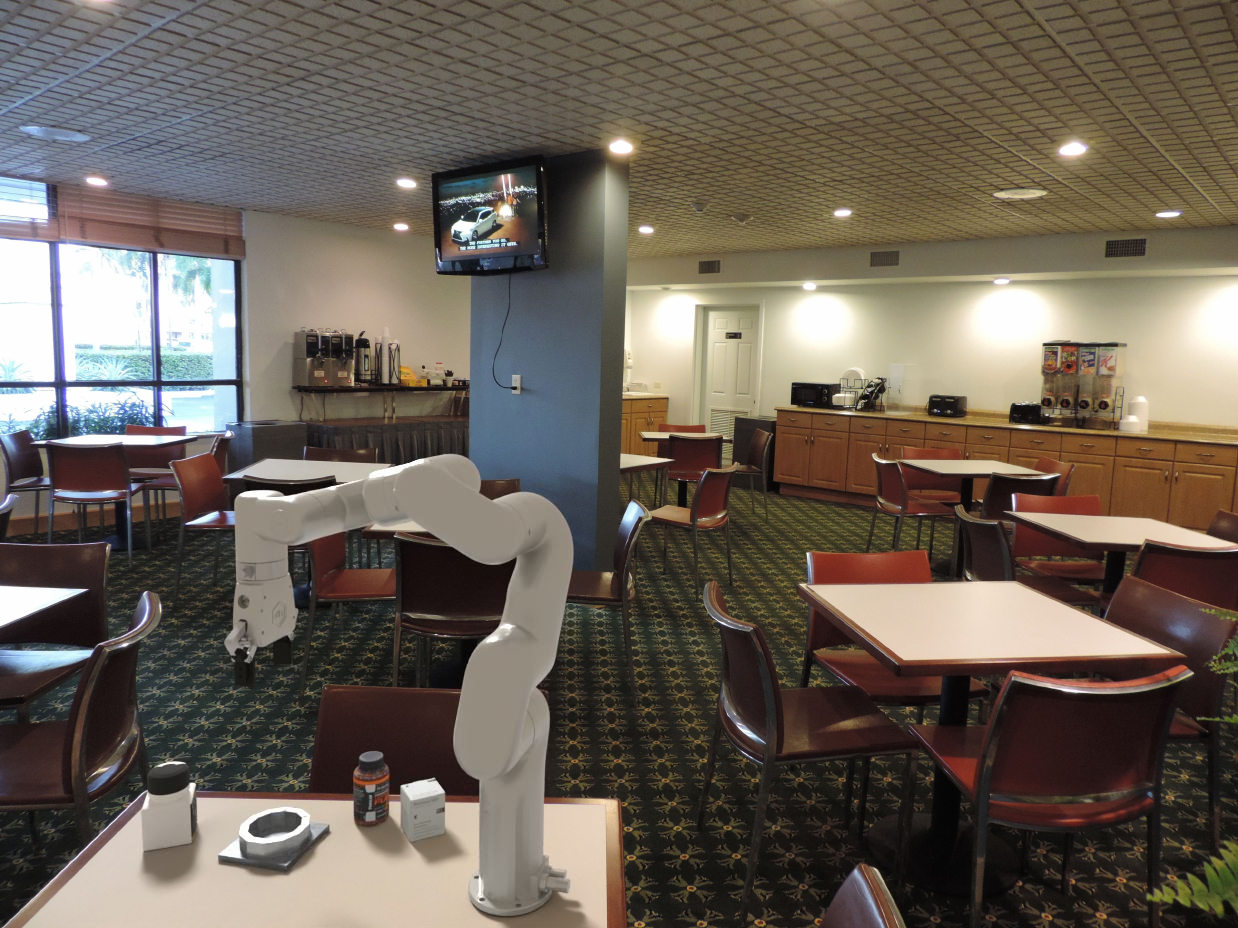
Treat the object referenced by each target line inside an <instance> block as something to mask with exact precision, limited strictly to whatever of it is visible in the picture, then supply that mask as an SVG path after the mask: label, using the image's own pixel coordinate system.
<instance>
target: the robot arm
mask: <svg viewBox="0 0 1238 928" xmlns="http://www.w3.org/2000/svg"><path fill="white" fill-rule="evenodd" d="M481 484H482V480H481V475H480V472H479V470H478V468H477V466H476V465H475V463H474V462H473V461H472V460H470V459H469V458H468V457H465V456H464V455H460V454H456V453H448V454H446V453H444V454H440V455H435V456H430V457H425V458H419V459H417V460H414V461H412V462H409V463H405V464H400V465H396V466H391V467H388V468H384V469H379V470H376V471H372V472H370V473H369V474H368V475H367V476H366V478H363V479H358V480H355V481H350V482H346V483H343V484H338V485H333V486H329V487H325V488H320V489H315V490H314V489H313V490H308V491H306V492H301V493H297V494H291V495H284V493H282V492H280V491H277V490H268V489H267V490H265V489H263V490H260V489H259V490H250V491H248V490H247V491H244V492H242V493H240V494H238V495H237V496H236V497H235V499H234V533H235V535H234V539H235V540H234V542H235V572H236V574H235V575H236V577H235V578H236V584H235V589H234V596H233V597H234V598H233V612H232V616H233V617H232V624H233V625H232V630H231V631H230V632H229V634H227V636H226V638H225V639H224V642H223V644H224V646H225V648H226V650H227V654H228V656H229V657H230V658H231V659H230V660H231V661H232V662H234V663H233V665H234V667H233V669H234V684H235V686H238V687H247V688H248V687H249V688H253V687H255V686H256V679H257V677H256V660H253V658H254V656H255V653H256V651H257V648H258V647H259V648H264V647H266V646H269V645H271V644H272V660H273V661H272V662H273V663H274V665H275V664H276V665H283V666H284V665H285V666H290V665H292V664H293V640H294V639H295V634H294V631H295V629H296V626H297V622H296V621H297V618H298V614H299V609H298V608H297V607H296V605H295V596H294V589H293V583H292V582H293V581H292V577H291V575H290V572H289V555H288V554H289V553H288V552H289V550H288V547H289V546H298V545H302V544H305V543H309V542H312V541H314V540H317V539H321V538H324V537H328V536H332V535H335V534H338V533H342V532H345V531H350V530H355V529H359V528H364V527H369V526H372V525H378V527H379V526H380V527H382V528H389V527H394V526H397V525H401V524H406V523H411V522H414V524H415V523H416V524H417V525H418V526H419V527H421V529H424V530H425V531H426V532H429V533H430V534H431V535H433V536H434V537H436V538H438V539H440V540H441V541H443V542H444V543H445V544H447V545H449V546H451V547H452V548H454V549H455V550H457V551H458V552H460V553H461V554H463V555H465V556H466V557H468V558H470V559H471V560H473V561H475V562H478V563H481V564H485V565H491V566H492V565H493V566H494V565H502V564H505V563H508V562H510V561H511V560H514V559H515V558H516V563H515V566H514V569H513V572H512V575H511V578H510V581H509V583H508V587H507V590H506V591H507V592H506V599H505V604H504V608H503V613H502V615H501V620H500V622H499V625H498V627H497V628H496V629H495V630H494V631H493V632H492V633H491V634H490V635H488V636H486V637H485V638H483V640H482V641H481V642H480V643H479V644H477V646H476V647H475V649H474V650H473V652H472V653H471V656H470V657H469V659H468V663H467V664H466V668H465V671H464V676H463V680H462V686H461V693H460V696H459V697H460V698H459V703H458V708H457V711H456V712H457V713H456V717H455V718H456V719H455V722H454V728H453V738H452V739H453V741H452V743H453V744H452V745H453V751H454V755H455V758H456V761H457V763H458V764H459V766H460V767H461V769H462V771H464V772H465V773H466V774H467V775H468V776H470V777H472V778H474V779H476V780H479V794H478V795H479V796H478V797H479V801H478V802H479V804H478V805H479V811H478V814H479V817H478V818H479V821H478V822H479V824H478V825H479V826H478V827H479V828H478V830H479V833H478V835H479V836H478V837H479V841H478V847H479V848H478V849H479V850H478V851H479V852H478V870H476V872H475V873H474V874H473V875H472V876H471V878H470V880H469V883H468V897H469V900H470V901H471V903H472V904H473V905H474V906H475V907H476V908H477V909H478V910H480V911H482V912H484V913H486V914H489V915H493V916H499V917H500V916H501V917H515V916H521V915H525V914H529V913H531V912H533V911H535V910H536V911H537V910H538V909H539V908H540V907H542V906H543V905H545V903H546V902H548V901H549V899H550V898H551V896H552V894H553V892H554V891H555V892H556V893H562V894H569V893H570V887H571V879H570V878H567V873H568V872H567V869H562V868H553V866H552V865H550V855H546V854H544V833H545V832H544V830H545V829H544V828H545V827H544V826H545V825H544V824H545V823H544V822H545V821H544V818H545V776H546V774H545V772H546V756H547V750H548V742H549V741H548V740H549V734H550V723H551V721H550V720H551V718H550V717H551V716H550V709H549V705H548V702H547V700H546V698H545V696H544V694H543V693H542V691H541V690H540V689H538V687H537V686H538V685H539V684H540V683H541V682H542V681H543V680H544V679H545V678H546V677H547V675H548V674H550V672H551V670H552V668H554V667H553V666H554V664H555V661H556V658H557V651H558V646H559V639H560V635H561V629H562V624H563V619H564V615H565V611H566V610H565V608H566V602H567V598H568V593H569V587H570V583H571V582H570V581H571V579H572V577H571V576H572V572H573V564H574V542H573V536H572V532H571V529H570V527H569V524H568V522H567V520H566V518H565V517H564V515H563V514H562V512H561V511H560V510H559V509H558V507H557V506H556V505H555V504H554V503H553V502H551V500H549V499H547V498H546V497H544V496H542V495H540V494H537V493H534V492H529V491H518V492H514V493H510V494H507V495H503V496H501V497H498V498H495V499H493V500H491V499H490V498H488V497H486V496H485V495H483V494H482V493H480V491H481ZM244 647H245V648H248V649H247V651H245V650H244Z"/></svg>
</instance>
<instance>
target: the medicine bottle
mask: <svg viewBox="0 0 1238 928" xmlns="http://www.w3.org/2000/svg"><path fill="white" fill-rule="evenodd" d="M190 775H191V774H190V766H189V765H188V764H187V763H185V762H182V761H168V762H165V763H161V764H158V765H156V766H155V767H152V768H151V769H150V770H149V772H148V773H147V774H146V779H147V781H146V782H147V793H146V796H145V799H144V802H143V805H142V808H141V810H140V812H141V813H140V814H141V817H140V818H141V836H142V850H143V852H149V851H155V850H160V849H167V848H172V847H178V846H184V845H185V846H186V845H189V844H192V843H193V842H194V838H195V833H196V829H197V824H198V802H197V801H198V800H197V799H198V798H197V784H196V783H195V782H191V781H190V779H191V778H190Z"/></svg>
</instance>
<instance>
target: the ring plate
mask: <svg viewBox="0 0 1238 928" xmlns="http://www.w3.org/2000/svg"><path fill="white" fill-rule="evenodd" d="M330 827H331V826H330V824H329V823H321V822H318V821H317V822H316V821H311V815H310V814H309V813H308V812H307V811H305V810H303V809H302V808H297V807H296V808H295V807H290V806H283V807H276V808H271V809H270V808H269V809H266V810H264V811H262V812H261V811H260V812H258V813H257V814H256V813H255V814H253V815H252V816H250V817H249V818H247V820H245V821H244V822H243V823H242V824H241V825H240V829H239V833H238V836H239V837H238V838H236V839H235V840H234V841H233V842H231V843H230V844H229V845H228V846H227V847H225V848H224V849H223V850H222V851H221V852H219V853H218V854H217V859H218V860H217V861H218V862H223V863H224V862H225V863H228V864H237V865H242V866H248V867H255V868H261V869H267V870H271V871H272V870H273V871H274V870H275V871H280V872H285V873H286V872H288V871H289V870H290V869H291V868H292V867H293V866H294V865H295V864H296V863H297V862H298V861H299V860H301V858H303V857H304V856H305V855H306V853H307V852H308V851H310V850H311V849H312V848H313V847H314V846H315V845H316V844H317V843H318V842H319V841H320V840H321V839H322V838H323V837H324V836H325V835H326V834H327V833H328V832H329V831H330Z"/></svg>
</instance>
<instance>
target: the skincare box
mask: <svg viewBox="0 0 1238 928" xmlns="http://www.w3.org/2000/svg"><path fill="white" fill-rule="evenodd" d="M399 820H400V823H399V824H400V827H401V828H402V830H403V832H404V833H405V835H406V837H407V839H408V840H409V842H413V843H414V842H417V841H419V840H424V839H427V838H431V837H436V836H439V835H443V834H445V833H446V792H445V790H444V789H443V788H442V786H441V785H440V784H439V782H438V781H437V780H436V778H435V777H432V778H429V779H423V780H417V781H413V782H412V783H411V782H410V783H405V784H402V785H400V819H399Z"/></svg>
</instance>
